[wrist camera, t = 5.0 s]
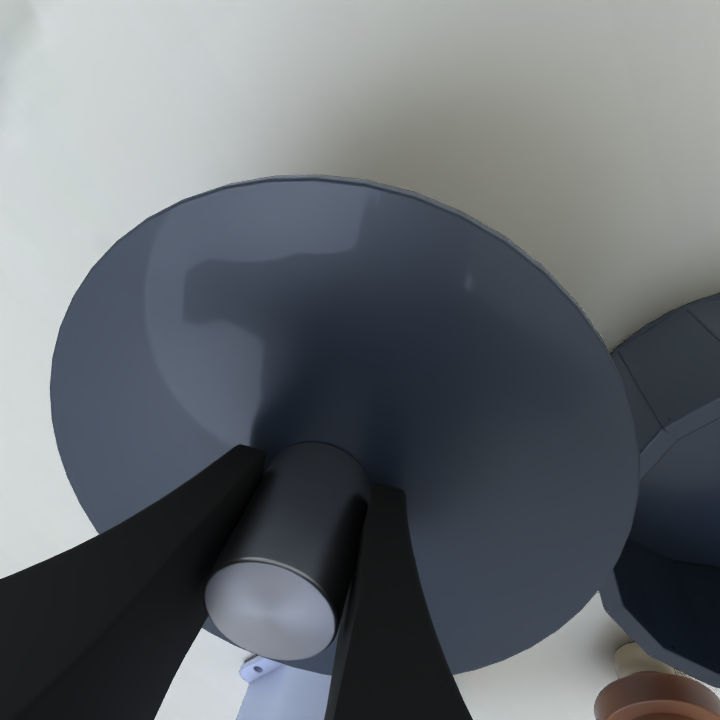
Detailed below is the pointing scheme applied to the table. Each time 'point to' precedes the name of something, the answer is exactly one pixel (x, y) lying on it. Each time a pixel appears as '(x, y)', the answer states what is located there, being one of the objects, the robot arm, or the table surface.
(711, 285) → the table surface
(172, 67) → the table surface
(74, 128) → the table surface
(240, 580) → the pan lid
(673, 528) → the pan
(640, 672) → the mushroom
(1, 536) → the table surface
